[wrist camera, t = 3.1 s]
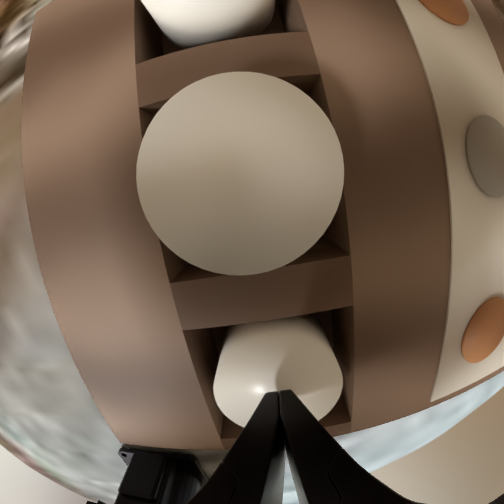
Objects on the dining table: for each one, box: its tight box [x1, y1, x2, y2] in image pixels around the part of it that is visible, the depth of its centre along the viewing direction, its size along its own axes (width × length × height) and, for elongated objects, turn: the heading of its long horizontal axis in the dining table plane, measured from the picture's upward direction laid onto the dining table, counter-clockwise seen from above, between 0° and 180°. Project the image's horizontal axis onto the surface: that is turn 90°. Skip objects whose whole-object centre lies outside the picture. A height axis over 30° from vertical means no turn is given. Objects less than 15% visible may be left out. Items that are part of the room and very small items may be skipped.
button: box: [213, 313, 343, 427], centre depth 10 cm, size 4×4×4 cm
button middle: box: [136, 72, 344, 276], centre depth 7 cm, size 4×4×4 cm
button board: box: [21, 0, 504, 450], centre depth 9 cm, size 21×22×5 cm
